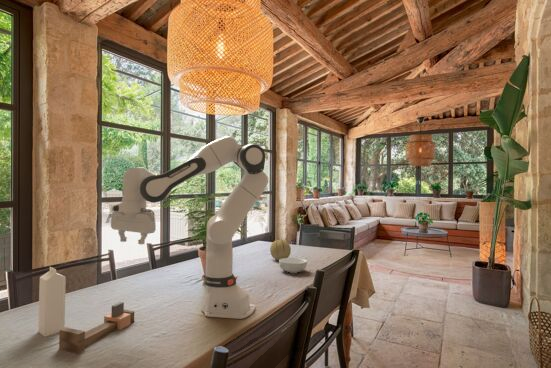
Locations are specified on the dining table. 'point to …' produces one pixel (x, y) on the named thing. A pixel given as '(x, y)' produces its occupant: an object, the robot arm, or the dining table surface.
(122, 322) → the slider
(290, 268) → the cereal bowl
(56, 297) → the milk
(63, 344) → the rail
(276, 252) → the cantaloupe
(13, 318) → the dining table surface
